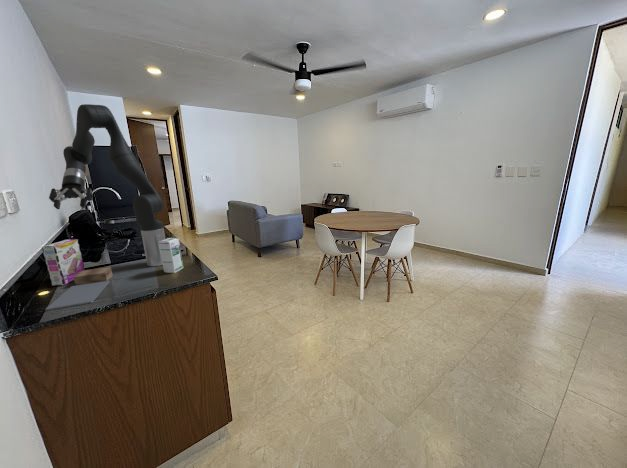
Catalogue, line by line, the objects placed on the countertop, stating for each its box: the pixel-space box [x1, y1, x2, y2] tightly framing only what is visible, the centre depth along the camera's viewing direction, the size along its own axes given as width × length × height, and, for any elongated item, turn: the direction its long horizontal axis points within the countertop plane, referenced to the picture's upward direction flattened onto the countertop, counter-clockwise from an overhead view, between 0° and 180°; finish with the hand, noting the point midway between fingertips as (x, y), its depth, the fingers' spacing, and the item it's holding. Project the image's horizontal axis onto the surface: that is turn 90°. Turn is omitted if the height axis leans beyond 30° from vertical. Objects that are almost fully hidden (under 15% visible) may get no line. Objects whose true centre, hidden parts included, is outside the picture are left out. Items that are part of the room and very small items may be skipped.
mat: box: [45, 280, 110, 312], centre depth 92 cm, size 12×18×1 cm, turn 23°
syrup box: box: [158, 237, 185, 274], centre depth 112 cm, size 6×6×14 cm
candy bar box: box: [41, 238, 86, 287], centre depth 103 cm, size 11×5×16 cm, turn 5°
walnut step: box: [73, 266, 114, 286], centre depth 104 cm, size 10×7×4 cm
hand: (69, 207), depth 112 cm, fingers open, 8 cm apart
